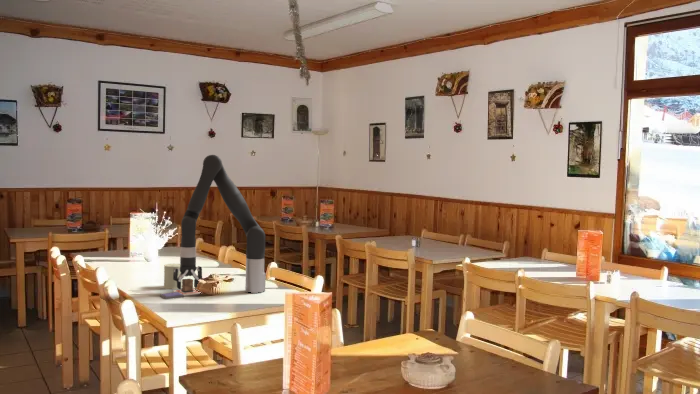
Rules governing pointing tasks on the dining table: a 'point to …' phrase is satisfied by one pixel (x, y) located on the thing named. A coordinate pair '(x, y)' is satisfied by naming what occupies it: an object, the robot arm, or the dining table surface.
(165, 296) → the ink pad
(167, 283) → the can
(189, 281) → the stamp
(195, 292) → the print board
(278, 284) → the dining table surface
